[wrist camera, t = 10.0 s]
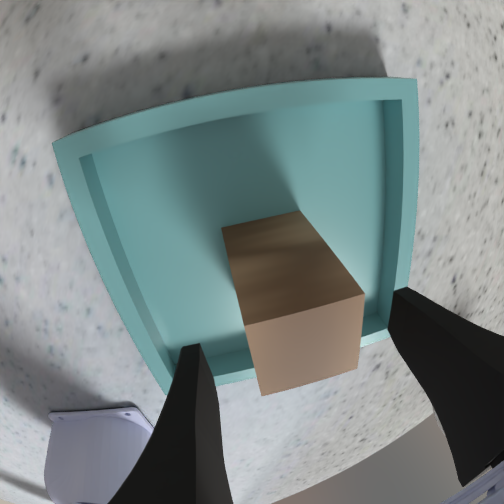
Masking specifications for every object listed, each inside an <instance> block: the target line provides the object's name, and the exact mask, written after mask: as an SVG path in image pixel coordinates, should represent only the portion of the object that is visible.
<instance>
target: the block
mask: <svg viewBox="0 0 504 504" xmlns="http://www.w3.org/2000/svg"><path fill="white" fill-rule="evenodd" d="M221 230H222V234H223V239H224V243H225V248H226V252H227V256H228V261H229V265H230V269H231V274H232V278H233V282H234V286H235V291H236V295H237V299H238V303H239V307H240V311H241V316H242V320H243V324H244V328H245V332H246V336H247V340H248V344H249V348H250V352H251V356H252V360H253V364H254V368H255V372H256V376H257V380H258V384H259V388H260V392H261V395H262V396H265V395H269V394H273V393H277V392H281V391H285V390H289V389H292V388H296V387H299V386H303V385H306V384H310V383H313V382H317V381H320V380H323V379H326V378H330V377H333V376H336V375H339V374H342V373H345V372H348V371H351V370H354V369H357V367H358V359H359V351H360V343H361V334H362V324H363V313H364V302H365V293H364V291H363V290H362V289H361V287H360V286H359V285H358V283H357V282H356V281H355V279H354V278H353V277H352V275H351V274H350V273H349V271H348V270H347V269H346V268H345V266H344V265H343V264H342V262H341V261H340V260H339V258H338V257H337V256H336V255H335V253H334V252H333V251H332V250H331V248H330V247H329V246H328V244H327V243H326V242H325V241H324V239H323V238H322V237H321V236H320V234H319V233H318V232H317V231H316V229H315V228H314V227H313V226H312V224H311V223H310V222H309V221H308V220H307V218H306V217H305V216H304V215H303V213H302V212H301V211H300V210H299V211H295V212H290V213H285V214H281V215H276V216H271V217H267V218H262V219H258V220H253V221H249V222H244V223H240V224H235V225H231V226H226V227H222V228H221Z"/></svg>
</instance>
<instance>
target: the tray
mask: <svg viewBox="0 0 504 504" xmlns="http://www.w3.org/2000/svg"><path fill="white" fill-rule="evenodd" d="M52 145H53V149H54V152H55V156H56V159H57V162H58V166H59V169H60V172H61V175H62V178H63V181H64V184H65V187H66V190H67V193H68V196H69V199H70V202H71V204H72V207H73V210H74V212H75V215H76V218H77V220H78V223H79V226H80V228H81V231H82V233H83V236H84V238H85V241H86V243H87V245H88V248H89V250H90V253H91V255H92V257H93V260H94V262H95V264H96V266H97V269H98V271H99V273H100V275H101V278H102V280H103V282H104V284H105V286H106V288H107V290H108V292H109V295H110V297H111V299H112V301H113V303H114V305H115V307H116V309H117V311H118V313H119V315H120V317H121V319H122V321H123V322H124V324H125V326H126V328H127V330H128V332H129V334H130V336H131V338H132V339H133V341H134V343H135V345H136V347H137V348H138V350H139V352H140V354H141V355H142V357H143V359H144V361H145V362H146V364H147V366H148V368H149V369H150V371H151V373H152V374H153V376H154V378H155V379H156V381H157V383H158V384H159V386H160V387H161V389H162V391H163V392H164V394H165V395H168V392H169V389H170V386H171V383H172V380H173V377H174V373H175V370H176V366H177V362H178V358H179V354H180V350H181V348H182V347H183V346H187V345H192V344H197V343H200V345H201V347H202V350H203V352H204V355H205V357H206V360H207V362H208V365H209V367H210V370H211V372H212V375H213V377H214V381H215V386H219V385H224V384H229V383H234V382H238V381H243V380H247V379H251V378H256V377H257V376H256V372H255V368H254V364H253V360H252V356H251V352H250V348H249V344H248V340H247V336H246V332H245V328H244V324H243V320H242V316H241V311H240V307H239V303H238V299H237V295H236V291H235V286H234V282H233V278H232V274H231V269H230V265H229V261H228V256H227V252H226V248H225V243H224V239H223V234H222V230H221V228H222V227H226V226H231V225H235V224H240V223H244V222H249V221H253V220H258V219H262V218H267V217H271V216H276V215H281V214H285V213H290V212H295V211H299V210H300V211H301V212H302V213H303V215H304V216H305V217H306V218H307V220H308V221H309V222H310V223H311V224H312V226H313V227H314V228H315V229H316V231H317V232H318V233H319V234H320V236H321V237H322V238H323V239H324V241H325V242H326V243H327V244H328V246H329V247H330V248H331V250H332V251H333V252H334V253H335V255H336V256H337V257H338V258H339V260H340V261H341V262H342V264H343V265H344V266H345V268H346V269H347V270H348V271H349V273H350V274H351V275H352V277H353V278H354V279H355V281H356V282H357V283H358V285H359V286H360V287H361V289H362V290H363V291H364V293H365V302H364V313H363V324H362V334H361V343H360V347H363V346H366V345H369V344H372V343H375V342H378V341H380V340H383V339H386V338H389V337H391V336H390V334H389V332H388V330H387V329H388V323H389V317H390V311H391V304H392V297H393V291H395V290H398V289H401V288H404V287H407V286H408V280H409V273H410V266H411V259H412V251H413V243H414V234H415V223H416V212H417V198H418V178H419V107H418V89H417V79H411V78H399V77H342V78H324V79H311V80H299V81H289V82H281V83H272V84H265V85H258V86H251V87H244V88H238V89H232V90H227V91H221V92H216V93H211V94H206V95H201V96H196V97H192V98H187V99H183V100H178V101H174V102H170V103H166V104H162V105H158V106H155V107H151V108H147V109H144V110H140V111H137V112H133V113H130V114H127V115H123V116H120V117H117V118H114V119H111V120H108V121H104V122H102V123H99V124H96V125H93V126H90V127H87V128H84V129H82V130H79V131H76V132H74V133H71V134H69V135H67V136H65V137H63V138H61V139H59V140H57V141H55V142H53V143H52Z"/></svg>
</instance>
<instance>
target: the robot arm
mask: <svg viewBox="0 0 504 504" xmlns="http://www.w3.org/2000/svg"><path fill="white" fill-rule="evenodd" d="M387 330H388V332H389V334H390V336H391V338H392V340H393V342H394V344H395V346H396V348H397V350H398V352H399V353H400V355H401V356H402V358H403V359H404V361H405V362H406V364H407V365H408V367H409V368H410V370H411V371H412V373H413V374H414V376H415V377H416V379H417V380H418V382H419V383H420V385H421V386H422V388H423V389H424V391H425V392H426V394H427V396H428V398H429V399H430V401H431V403H432V405H433V408H434V410H435V412H436V414H437V416H438V418H439V421H440V423H441V425H442V428H443V430H444V433H445V435H446V438H447V441H448V444H449V447H450V449H451V452H452V455H453V459H454V463H455V467H456V471H457V475H458V479H459V481H460V483H461V485H462V487H464V486H465V485H467V484H468V483H470V482H471V481H473V480H475V479H476V478H477V477H479V476H480V475H482V474H483V473H484V472H486V471H487V470H489V469H490V468H491V467H492V468H493V469H492V470H490V471H489V472H488V473H486V474H485V475H483V476H482V477H481V478H479V479H478V480H476V481H475V482H473V483H472V484H470V485H469V486H467V487H466V488H464V489H463V490H461V491H460V492H458V493H456V494H455V495H453V496H452V497H450V498H448V499H447V500H445V501H443V502H441V503H440V504H469V503H470V502H471V501H473V500H474V499H476V498H477V497H479V496H480V495H482V494H483V493H484V492H486V491H487V490H488V492H487V497H486V498H485V499H483V500H482V501H480V502H479V503H477V504H504V336H501V335H499V334H496V333H494V332H491V331H489V330H487V329H484V328H482V327H480V326H478V325H476V324H474V323H472V322H470V321H468V320H466V319H464V318H462V317H460V316H458V315H456V314H454V313H453V312H451V311H449V310H447V309H445V308H444V307H442V306H440V305H438V304H437V303H435V302H433V301H432V300H430V299H428V298H426V297H425V296H423V295H421V294H419V293H418V292H416V291H414V290H412V289H410V288H408V287H404V288H401V289H398V290H395V291H393V297H392V304H391V311H390V317H389V323H388V329H387ZM48 417H49V419H50V420H51V421H52V422H53V423H52V428H51V433H50V439H49V444H48V450H47V456H46V462H45V469H44V481H45V486H46V489H47V492H48V495H49V496H50V498H51V500H52V501H53V502H54V503H55V504H233V500H232V496H231V492H230V488H229V483H228V479H227V474H226V470H225V464H224V457H223V446H222V435H221V423H220V411H219V402H218V396H217V391H216V386H215V381H214V377H213V375H212V372H211V370H210V367H209V365H208V362H207V360H206V357H205V355H204V352H203V350H202V347H201V345H200V343H197V344H192V345H187V346H183V347H182V348H181V350H180V354H179V358H178V362H177V366H176V370H175V373H174V377H173V380H172V383H171V386H170V389H169V392H168V395H167V398H166V401H165V403H164V406H163V408H162V411H161V413H160V416H159V418H158V421H157V423H156V426H155V428H153V427H152V426H151V424H150V423H149V422H148V421H147V419H146V418H145V417H144V416H143V414H142V413H141V412H140V411H139V410H138V409H137V408H135V407H128V408H118V409H107V410H94V411H79V412H54V413H49V415H48Z"/></svg>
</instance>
